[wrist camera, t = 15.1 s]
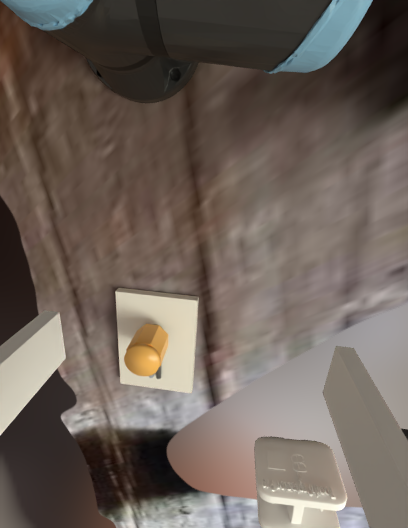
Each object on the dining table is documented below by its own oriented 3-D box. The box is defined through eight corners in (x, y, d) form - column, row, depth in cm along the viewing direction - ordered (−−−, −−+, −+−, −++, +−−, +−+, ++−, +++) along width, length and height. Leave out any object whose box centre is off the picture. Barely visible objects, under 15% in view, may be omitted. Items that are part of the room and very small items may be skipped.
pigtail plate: (118, 287, 50) (96, 312, 42) (198, 296, 48) (190, 324, 41) (123, 377, 57) (104, 413, 49) (192, 387, 56) (185, 425, 48)
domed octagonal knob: (136, 322, 48) (123, 344, 42) (168, 326, 47) (159, 349, 42) (137, 349, 50) (124, 373, 44) (168, 353, 49) (159, 378, 44)
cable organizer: (251, 465, 62) (254, 531, 51) (254, 430, 58) (258, 493, 47) (323, 474, 60) (341, 543, 50) (331, 438, 57) (352, 505, 46)
